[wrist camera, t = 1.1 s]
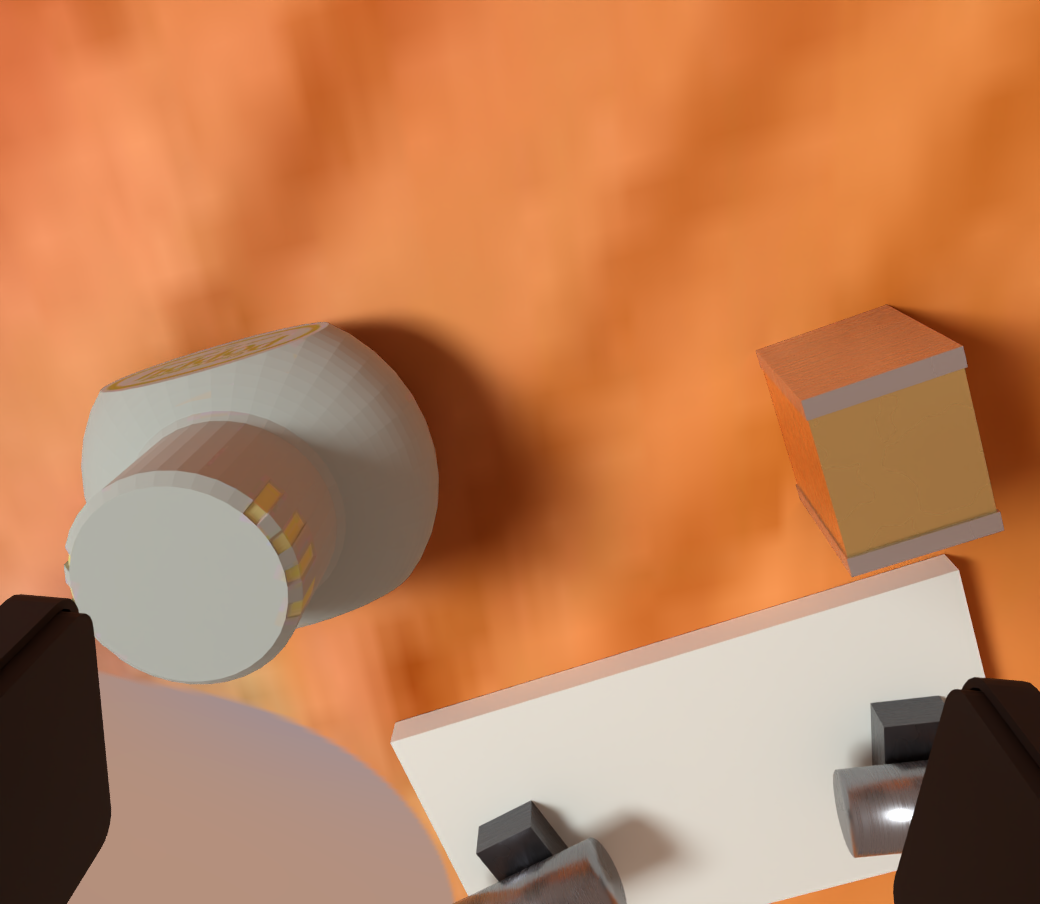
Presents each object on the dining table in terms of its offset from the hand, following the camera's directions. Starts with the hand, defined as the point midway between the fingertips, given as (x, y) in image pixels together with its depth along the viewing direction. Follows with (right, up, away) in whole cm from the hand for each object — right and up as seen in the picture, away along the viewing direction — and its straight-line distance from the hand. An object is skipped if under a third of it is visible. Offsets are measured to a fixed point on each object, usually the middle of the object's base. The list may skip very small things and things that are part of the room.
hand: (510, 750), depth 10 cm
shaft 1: (+1, -12, +25) cm, 28 cm away
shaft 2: (+14, -8, +23) cm, 28 cm away
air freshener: (-8, +3, +22) cm, 23 cm away
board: (+7, -9, +25) cm, 28 cm away
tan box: (+11, +5, +20) cm, 23 cm away
